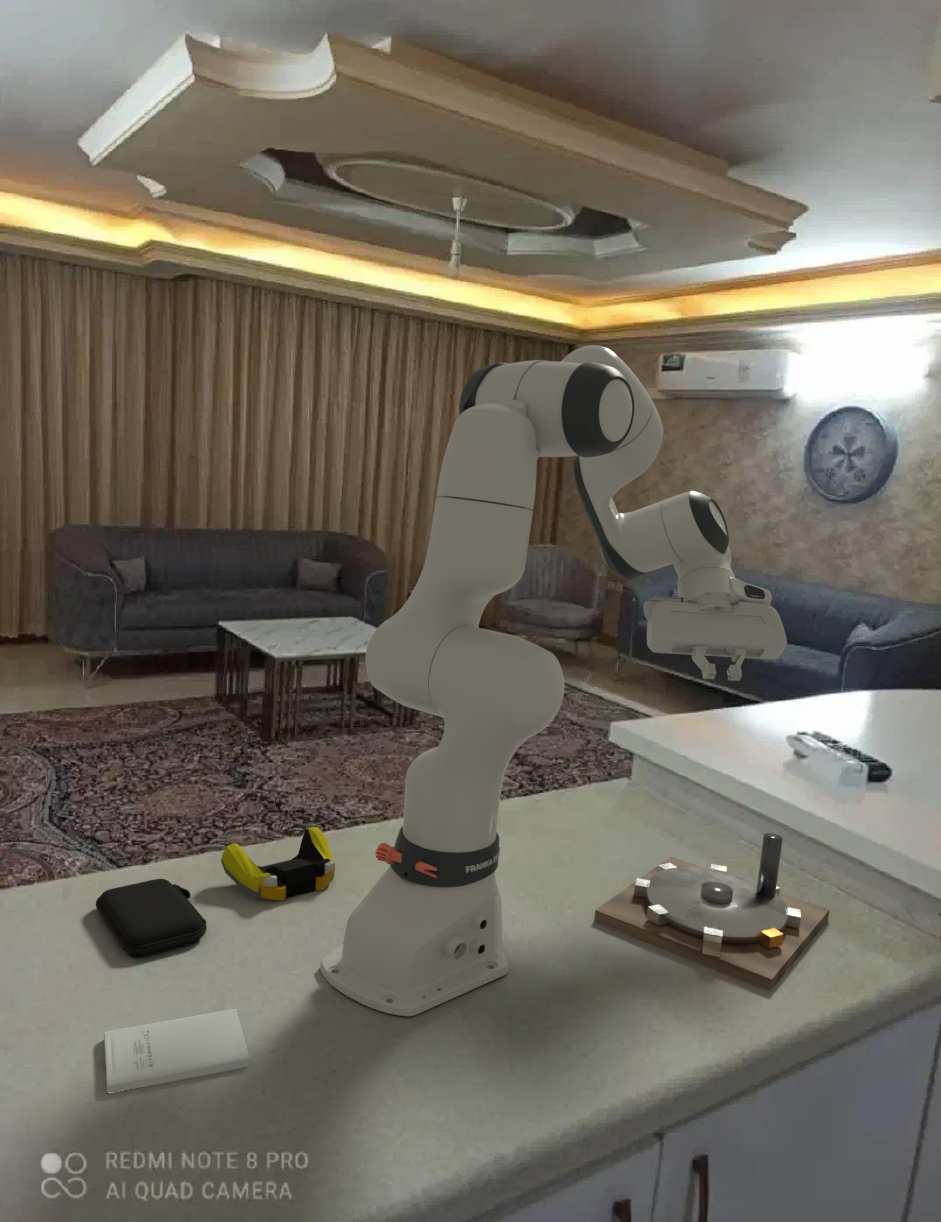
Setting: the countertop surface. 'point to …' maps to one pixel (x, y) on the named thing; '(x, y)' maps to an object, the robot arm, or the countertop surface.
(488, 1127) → the countertop surface
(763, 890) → the sprocket
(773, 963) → the sprocket base
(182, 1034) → the external hard drive
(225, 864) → the gaming controller
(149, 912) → the carrying case or bag
